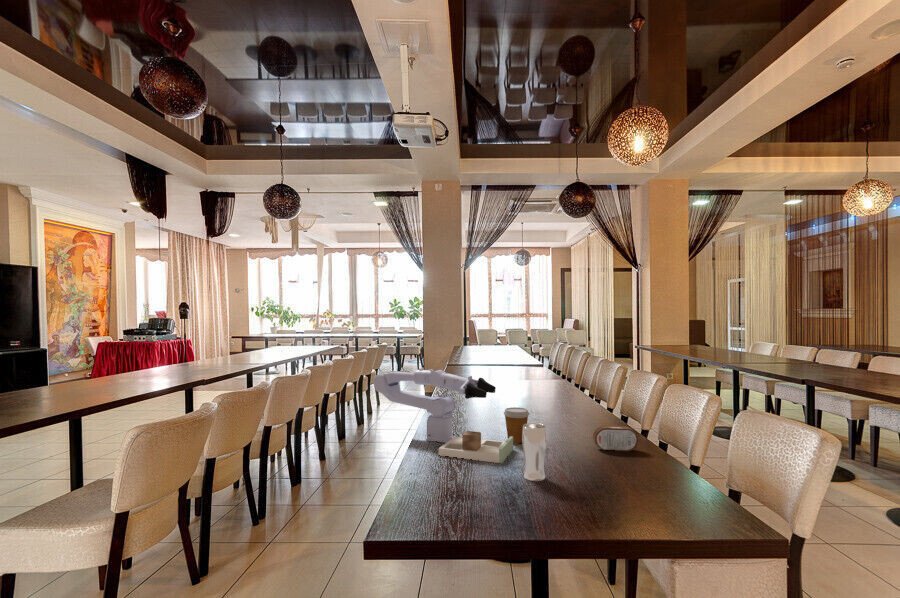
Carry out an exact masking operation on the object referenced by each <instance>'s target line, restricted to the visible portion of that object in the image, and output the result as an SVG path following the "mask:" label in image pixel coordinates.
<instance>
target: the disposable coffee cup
mask: <svg viewBox="0 0 900 598" xmlns="http://www.w3.org/2000/svg"><path fill="white" fill-rule="evenodd" d="M528 410H529V409H527V408H523V407H506V408H505V409H504V412H503V414H504V415H503V416H504V419H505V420H504V421H505V427H506V434H507V439H508V438H509V437H510V436H511V437H513V443H514V444H513V445H520V444H519V443H522V433H523V425H524V424H528V420H529V415H530V412H529V411H528ZM515 443H516V444H515Z"/></svg>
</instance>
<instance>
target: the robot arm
mask: <svg viewBox="0 0 900 598" xmlns="http://www.w3.org/2000/svg"><path fill="white" fill-rule="evenodd" d="M372 382H373V383H372V384H373V386H374V389H375V392H378V393H379V394H382V395H383V396H384V397H385V398H386V399H387V400H388V401H390V402H393V403H396V404H399V405H400V404H401V405H406V406H409V407H413V408H418V409H422V410H425V411H426V413H430V414H431V415H428V417H427V419H426V439H425V441H426V442H428V441H429V442H436V441H437V442H438V443H447V442H448V441H449V440H451V439H452V438H453V437H457V436H456V435H455V436H454V435H453V414H454V413H453V412H454V411H455V410H456V402H455V399H453V398H452V397H451V396H445V397H439V396H437V397H436V396H433V397H432V396H428V395H423V394H419V393H414V392H411V391H410V392H409V391H404V390H401V387H400V386H401V385H400V382H414V384H415V385H421V386H422V385H423V386H424V385H425V386H432V388H436V387H438V386H439V387H442V388H445V389H448V390H450V391H455V392H457V393H458V394H459V395H463V396H464V398H465V399H466V400H467V399H472V398H478V399H479V398H480V399H481V398H484V399H486V398H487V393H491V394H495V393H496V388H497V387H496V386H494V385H493V384H491V383H489V382H488V381H486V380H485V379H484V378H483V377H478V379H474V378H473V375H469V376H467V377H466V376H465V377H464V376H460V375H456V374H452V373H449V372H446V371H445V370H443V369H438V370H434V369H433V368H430V369H428V370H427V369H426V370H425V369H424V368H418V369H416V370H415V371H414V372H409V371H399V370H397V371H390V372H387V373H386V372H385V373H381V374H379V373H378V374H375V376H374V377H373V379H372Z"/></svg>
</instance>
